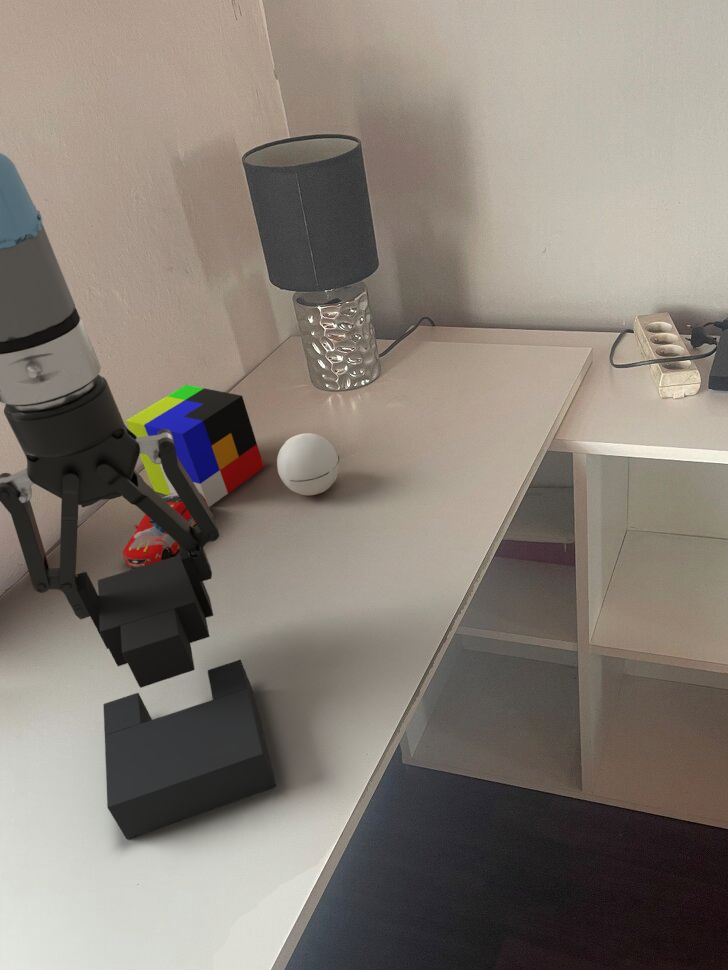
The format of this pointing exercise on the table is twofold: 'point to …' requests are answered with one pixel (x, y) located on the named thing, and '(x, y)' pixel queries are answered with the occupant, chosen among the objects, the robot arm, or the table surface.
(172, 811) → the notch pad
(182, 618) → the tongue pad
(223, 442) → the puzzle toy
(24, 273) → the robot arm
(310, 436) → the white sphere
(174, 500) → the race car
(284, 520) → the table surface
